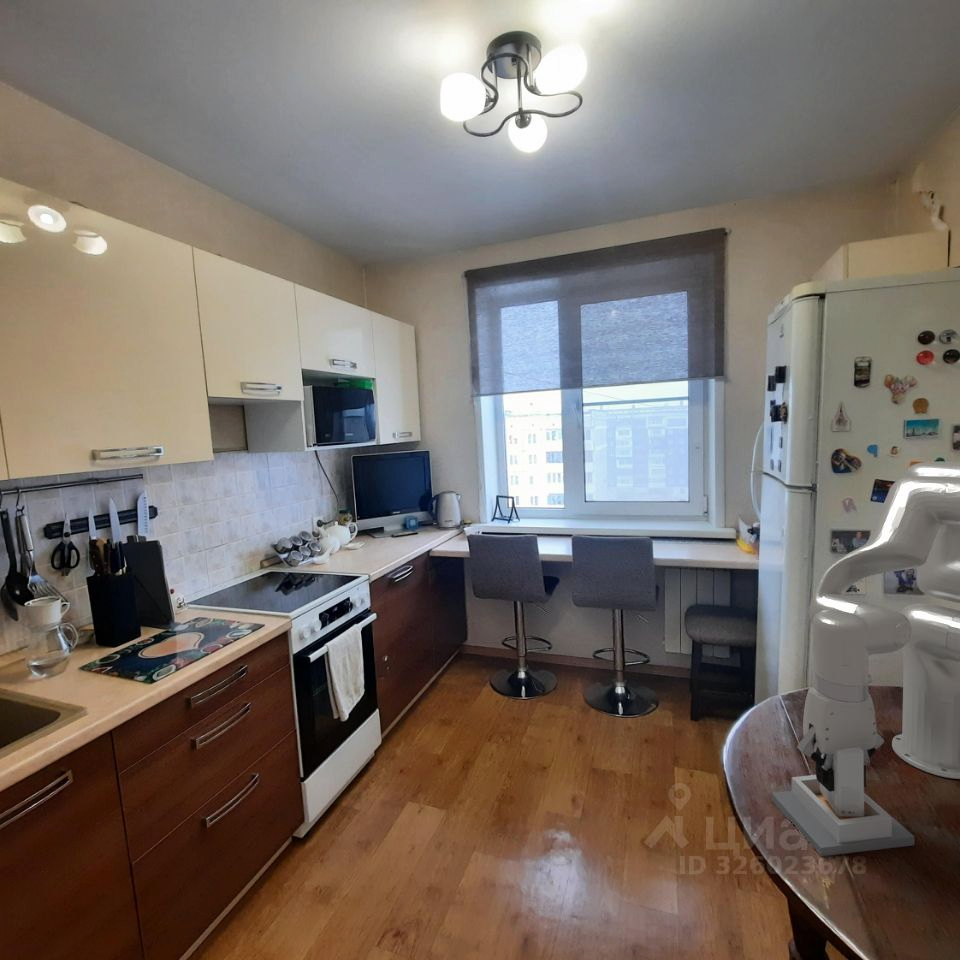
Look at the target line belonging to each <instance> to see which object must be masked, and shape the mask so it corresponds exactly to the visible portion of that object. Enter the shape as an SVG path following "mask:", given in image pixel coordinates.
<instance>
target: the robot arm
mask: <svg viewBox="0 0 960 960" xmlns="http://www.w3.org/2000/svg"><path fill="white" fill-rule="evenodd" d="M904 473H905V474H904V477H902V478H900V479H898V480H896V481H895V482H893V484H892V485H891V486H890V488H889V490H888V493H887V494H886V497H885V500H884V502H883V505H882V506H881V509H880V512H879V514H878V516H877V519H876V520H875V523H874V526H873V527H872V529H871V532H870V536H869V537H868V540H867V541H866V543H865V544H864V545H862V546H860V547H858V548H856V549H854V550H852V551H850V552H848V553H847V554H845V555H844V556H842V557H841V558H839V559H838V560H836V561H835V562H834V563H833V564H831V565H830V566H829V567H828V568H826V570H825V571H824V572H823V573H822V575H821V577H820V579H819V581H818V584H817V586H816V588H815V590H814V593H813V595H812V598H811V600H810V604H809V610H808V617H809V621H810V622H811V624H812V664H813V665H812V667H813V669H812V671H813V672H812V675H813V677H812V678H813V679H812V680H813V686H812V687H809V688H808V691H807V694H806V698H805V702H804V709H803V719H802V735H803V737H802V739H801V740H800V742H798V743H797V749H798V750H799V751H800V752H801V753H802V754H803V755H805V756H807V757H808V758H810V759H811V760H813V761H814V762H815V775H816V778H817V780H818V781H819V782H820V783H821V784H822V785H823V786H824V787H825V788H826V789H827V790H828V791H829V792H831V791H833V790H834V771H833V770H832V769H831V768H830V767H831V763H832V760H833V754H835V753H836V750H838V749H846V748H854V747H860V748H861V749H862V750H863V752H864V788H866V787H867V772H866V771H867V770H866V769H867V766H869V765H870V763H871V760H870V759H871V757H872V756H873V755H874V754H875V753H876V751H877V749H879V748H880V747H881V746H882V745H883V744H884V742H885V739H884V738H883V737H882V736H881V735H880V734H879V732H877V718H876V712H875V706H874V703H873V702H874V701H873V699H872V695H871V693H870V692H869V684H871V683H873V677H872V676H871V675H870V674H869V661H870V660H869V658H870V656H873V655H881V654H882V655H883V654H890V653H893V652H897V651H899V650H901V649H902V656H903V657H902V659H903V663H902V664H903V671H902V672H903V674H902V675H903V676H902V677H903V679H902V681H903V682H902V683H903V684H902V687H903V688H902V690H903V691H902V727H901V728H902V729H901V730H902V731H901V733H900V734H896V735H895V736H894V737H893V738H892V741H891V746H892V750H893V751H894V753H895V754H896V755H897V756H898V757H899V758H900V759H902V760H903V761H904V762H906V763H908V764H909V765H910V766H913V767H915V768H916V769H919V770H921V771H923V772H926V773H929V774H931V775H935V776H938V777H943V778H948V779H958V780H960V609H955V608H951V607H947V606H946V607H945V606H941V605H937V604H932V603H924V602H923V603H922V602H920V603H912V604H909V605H907V606H905V607H904V608H903V609H902V610H900V611H898V610H896V609H895V608H894V609H893V608H891V607H888V606H884V605H881V604H875V603H871V602H868V601H866V600H861V599H857V598H853V597H849V596H846V592H847V591H848V590H849V589H850V588H851V587H852V586H853V585H854V584H855V583H857V582H859V581H860V580H863V579H866V578H868V577H871V576H875V575H881V574H886V573H892V572H899V571H905V570H912V569H917V570H916V584H917V587H918V589H919V590H920V591H921V592H922V593H923V594H925V595H928V596H930V597H932V598H936V599H940V600H944V601H946V602H947V601H948V602H952V603H956V604H960V461H946V460H945V461H942V460H941V461H924V462H918V463H915V464H912V465H910V466H909V467H908V468H907V470H906V471H905V472H904ZM822 753H823V754H824V757H823V758H822V757H821V755H822Z"/></svg>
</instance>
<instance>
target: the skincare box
mask: <svg viewBox="0 0 960 960" xmlns="http://www.w3.org/2000/svg"><path fill="white" fill-rule="evenodd" d="M821 757H822V758H823V757H824V754H823V753H822V755H821ZM830 768H831V769H832V770H833V771H834V790H833V791H831V792H829V791H828V790H827V789H826V788H825V787H824V786H823V785H822V784H821V783H820V792H821V793H822V794H823V796H824V797H825V799H826V800H827V801H828V803H829V804H830V806H831V807H832V809H833V810H834V811H835V813H836V814H837V816H849V817H864V793H865V787H864V752H863V750H862V749H861V748H860V747H854V748H846V749H838V750H836V753H835V754H833V760H832V763H831V767H830Z"/></svg>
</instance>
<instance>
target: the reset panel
mask: <svg viewBox="0 0 960 960" xmlns="http://www.w3.org/2000/svg"><path fill="white" fill-rule="evenodd" d="M816 795H822V793H821V792H820V782H819V781H818V780H817V778H816V774H812V775H800V776H793V777H791V790H787V791H786V790H785V791H779V792H778V791H777V792H771V801H772V803H773V804H774V805H775V806H776V807H777V808H778V809H779V811H780V812H781V813H782V814H783V816H785V817H786V819H787V818H788V819H789V820H790V821H791V822H792V823H793V824H794V825H795V826H796V827H797V828H798V829H799V830H800V832H801V833H802V834H803V836H805V838H806V839H807V840H808V841H809V842H810V843H811V844H812V845H813V847H814V848H815V849H816V851H817V852H816V851H815V852H816V853H817V854H818V855H819V856H820V857H827V856H836V855H843V854H845V855H846V854H852V853H859V852H869V851H877V850H884V849H893V848H895V849H896V848H903V847H910V846H915V836H914V835H913V834H912V833H911V832H910V831H908V830H907V829H906V827H904V826H903V825H902V824H900V823H899V822H898V821H897V820H896V819H895V818H894V817H892V815H890V814H889V813H888V812H887V811H886V810H884V808H882V807H881V806H880V805H879V804H877V802H876V801H874V800H873V799H872V798H871V797H870V796H868V795H867V794H866V793H865V792H864V817H859V818H851V819H842V820H840V819H839V818H838V817H837V816H836V815H835V814H834V813H833V812H832V811H831V810H830V809H829V808H828V807H827V806H826V805H825V804H824V803H823V802H822V801H821V800H820V799H819V798H818V797H817V796H816ZM788 819H787V820H788ZM789 820H788V821H789ZM790 821H789V822H790ZM791 822H790V823H791ZM792 823H791V824H792ZM793 824H792V825H793ZM794 825H793V826H794ZM800 832H799V833H800ZM801 833H800V834H801ZM803 836H802V837H803ZM805 838H804V839H805ZM806 839H805V840H806ZM807 840H806V841H807ZM808 841H807V842H808ZM813 847H812V848H813ZM814 848H813V849H814ZM815 849H814V850H815Z"/></svg>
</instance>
